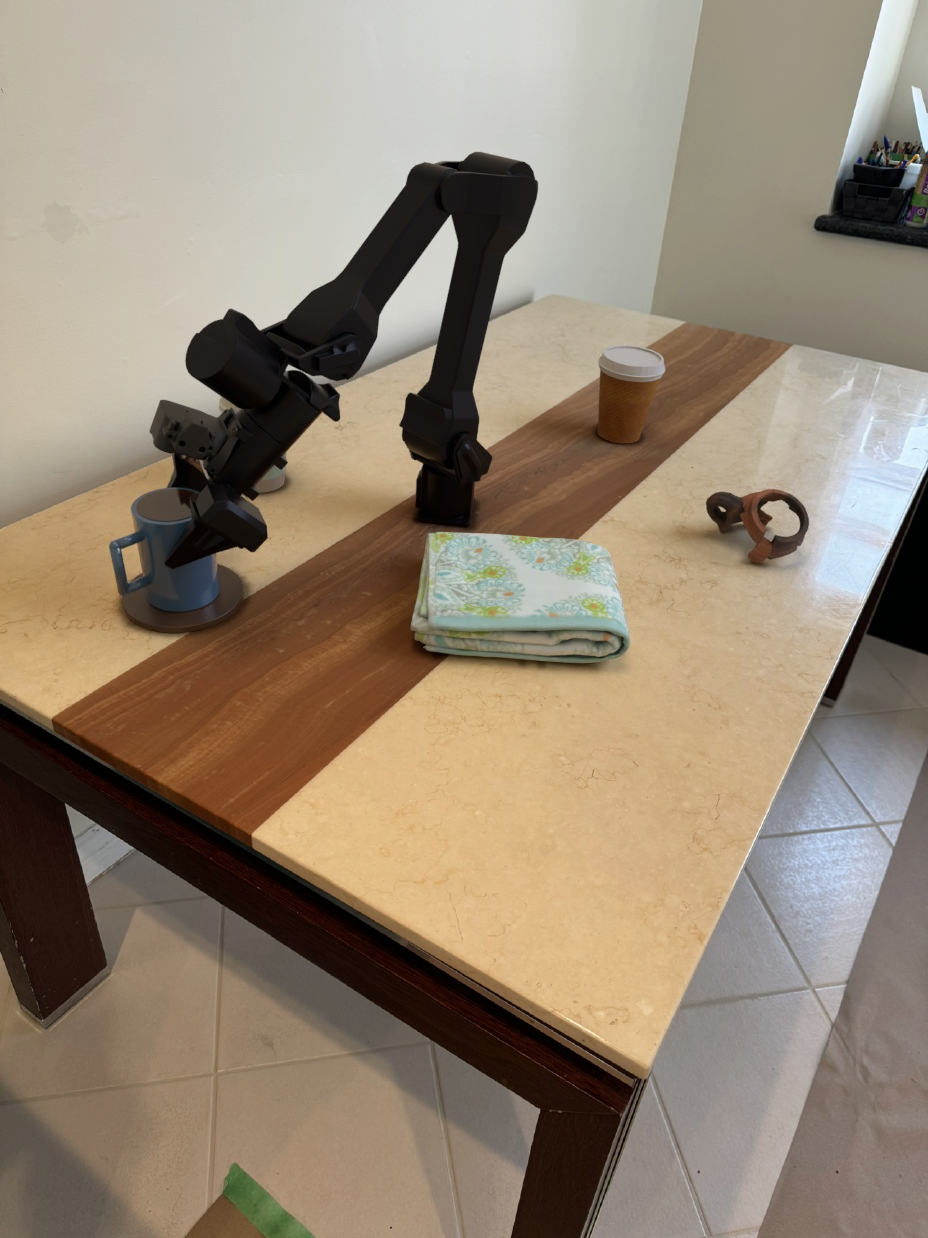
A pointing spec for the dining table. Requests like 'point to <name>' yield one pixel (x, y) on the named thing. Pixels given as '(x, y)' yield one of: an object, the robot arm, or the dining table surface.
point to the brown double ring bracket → (758, 520)
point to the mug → (165, 553)
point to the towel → (519, 599)
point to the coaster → (186, 621)
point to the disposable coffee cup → (626, 390)
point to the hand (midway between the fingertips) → (161, 544)
